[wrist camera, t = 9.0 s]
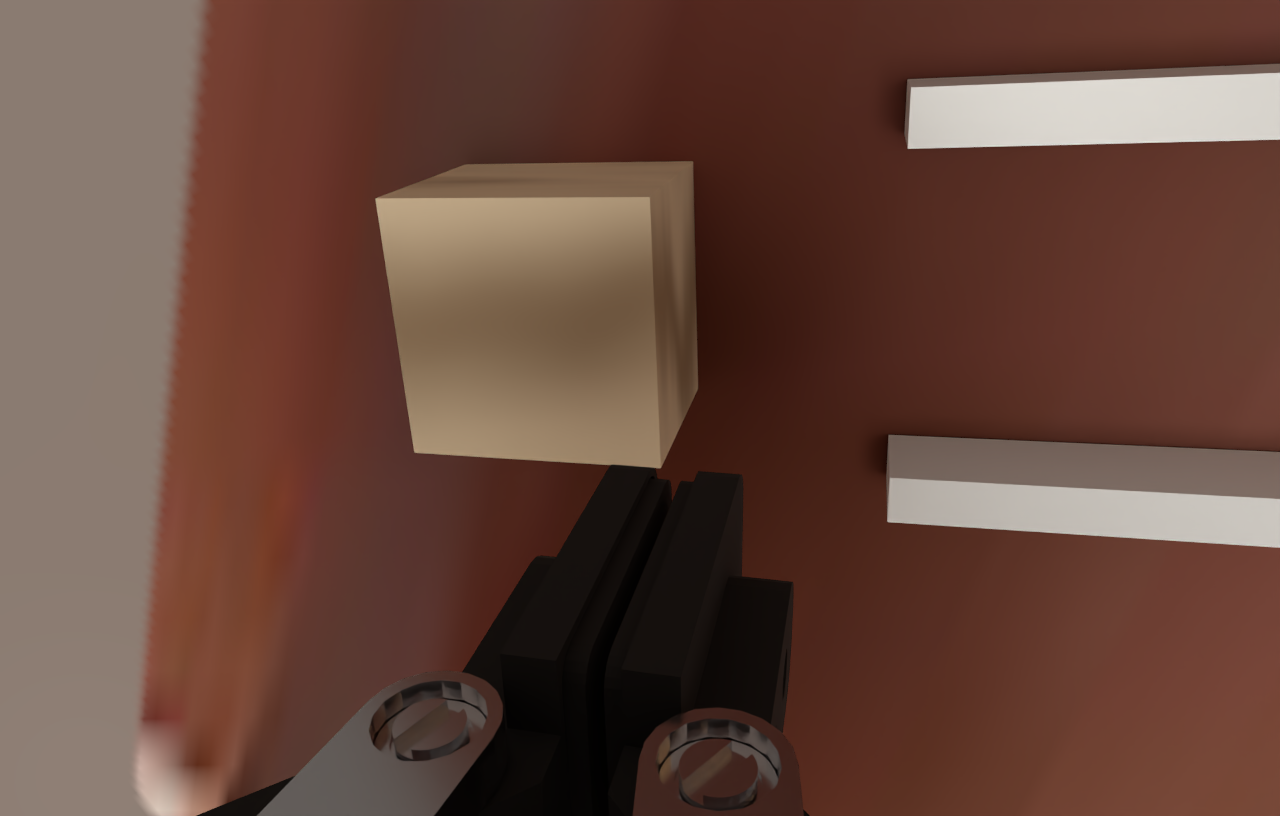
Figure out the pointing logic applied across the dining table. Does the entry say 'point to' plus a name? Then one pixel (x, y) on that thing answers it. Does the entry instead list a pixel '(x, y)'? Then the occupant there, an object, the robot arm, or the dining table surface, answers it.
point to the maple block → (546, 309)
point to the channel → (1079, 472)
